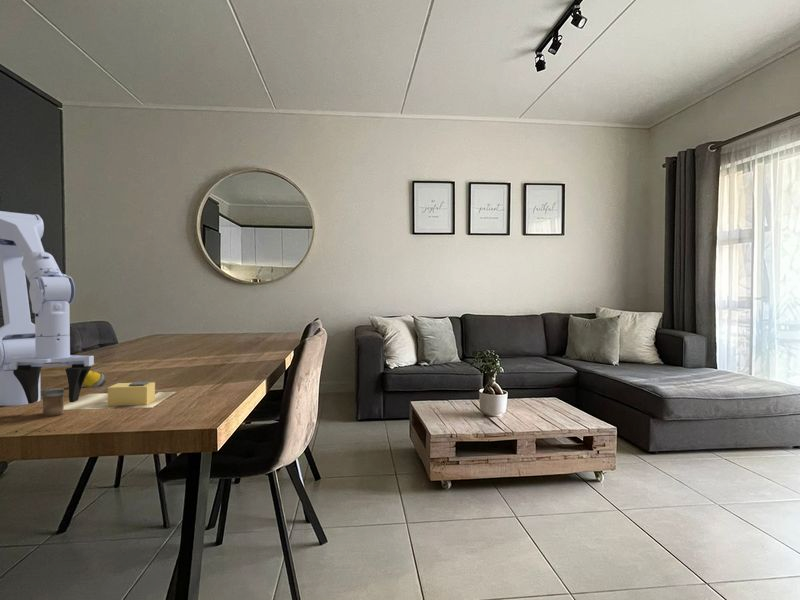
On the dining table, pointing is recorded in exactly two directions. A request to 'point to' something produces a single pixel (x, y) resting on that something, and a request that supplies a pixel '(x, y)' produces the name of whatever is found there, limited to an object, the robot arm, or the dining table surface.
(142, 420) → the dining table surface
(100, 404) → the panel
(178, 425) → the dining table surface
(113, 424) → the dining table surface
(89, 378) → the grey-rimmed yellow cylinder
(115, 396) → the stud finder
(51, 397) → the brown cylindrical piece
